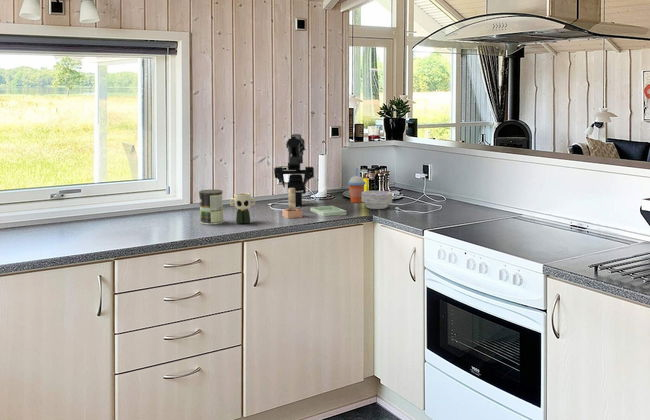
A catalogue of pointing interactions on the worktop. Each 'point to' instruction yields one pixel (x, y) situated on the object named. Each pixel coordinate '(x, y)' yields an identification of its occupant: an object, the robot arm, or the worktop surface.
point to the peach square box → (292, 213)
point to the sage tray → (328, 210)
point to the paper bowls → (377, 199)
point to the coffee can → (211, 207)
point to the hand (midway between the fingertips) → (293, 187)
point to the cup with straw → (356, 188)
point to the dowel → (292, 199)
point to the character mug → (242, 206)
